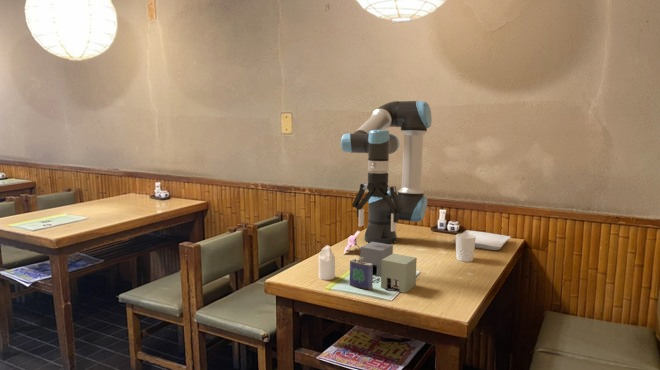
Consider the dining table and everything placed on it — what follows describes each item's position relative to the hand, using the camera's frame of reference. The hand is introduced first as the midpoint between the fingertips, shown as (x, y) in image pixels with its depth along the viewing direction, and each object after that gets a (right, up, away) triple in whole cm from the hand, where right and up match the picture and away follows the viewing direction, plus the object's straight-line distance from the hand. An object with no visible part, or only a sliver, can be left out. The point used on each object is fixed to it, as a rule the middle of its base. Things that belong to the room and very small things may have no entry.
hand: (376, 228), depth 186 cm
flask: (-7, -19, -14) cm, 25 cm away
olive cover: (+6, -19, -13) cm, 24 cm away
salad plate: (+52, -11, +42) cm, 68 cm away
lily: (-8, -13, +29) cm, 33 cm away
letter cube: (+6, -19, -13) cm, 24 cm away
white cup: (+38, -15, +19) cm, 45 cm away
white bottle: (-19, -18, -4) cm, 26 cm away
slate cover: (0, -17, +3) cm, 17 cm away
